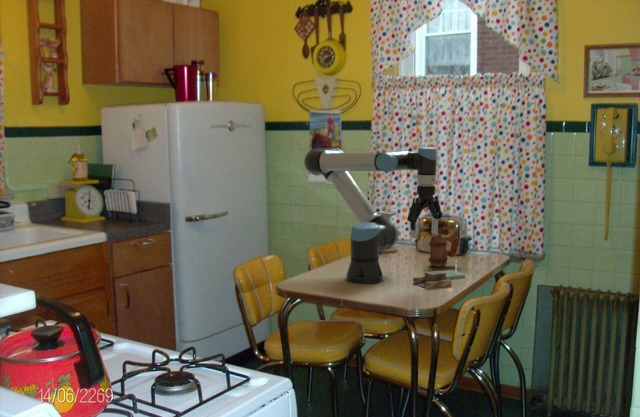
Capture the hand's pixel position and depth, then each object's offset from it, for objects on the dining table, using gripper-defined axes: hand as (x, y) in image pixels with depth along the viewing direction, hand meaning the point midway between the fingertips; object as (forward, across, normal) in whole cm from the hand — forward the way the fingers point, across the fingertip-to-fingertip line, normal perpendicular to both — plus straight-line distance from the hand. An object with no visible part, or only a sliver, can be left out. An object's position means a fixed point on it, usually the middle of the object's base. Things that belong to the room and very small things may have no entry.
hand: (424, 236), depth 269 cm
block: (+19, -2, -8) cm, 20 cm away
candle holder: (+20, +37, +53) cm, 68 cm away
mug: (+19, +29, +11) cm, 37 cm away
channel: (+19, -3, -7) cm, 20 cm away
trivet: (+19, +14, -2) cm, 24 cm away
